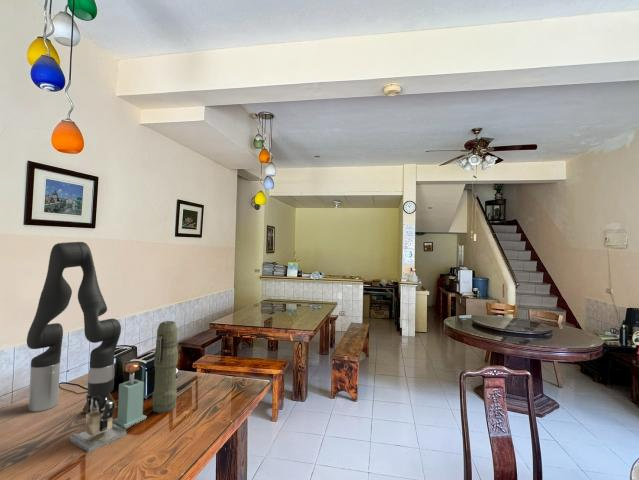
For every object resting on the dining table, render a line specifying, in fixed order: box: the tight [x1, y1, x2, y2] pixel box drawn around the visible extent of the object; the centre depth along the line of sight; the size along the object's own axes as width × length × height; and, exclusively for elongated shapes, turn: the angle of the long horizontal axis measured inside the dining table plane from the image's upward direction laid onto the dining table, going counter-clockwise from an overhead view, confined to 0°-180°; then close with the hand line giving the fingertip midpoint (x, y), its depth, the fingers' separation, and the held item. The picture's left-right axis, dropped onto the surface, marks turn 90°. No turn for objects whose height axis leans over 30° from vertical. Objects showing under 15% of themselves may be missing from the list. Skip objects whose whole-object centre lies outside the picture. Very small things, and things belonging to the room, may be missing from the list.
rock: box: [82, 392, 118, 414], centre depth 130 cm, size 11×9×10 cm
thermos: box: [151, 320, 179, 414], centre depth 134 cm, size 9×12×35 cm
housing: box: [85, 408, 113, 436], centre depth 112 cm, size 5×6×7 cm
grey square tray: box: [69, 422, 127, 453], centre depth 111 cm, size 12×12×2 cm
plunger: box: [125, 362, 140, 386], centre depth 123 cm, size 4×4×13 cm
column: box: [112, 378, 147, 429], centre depth 123 cm, size 8×8×14 cm
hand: (99, 427), depth 112 cm, fingers closed on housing, 5 cm apart
